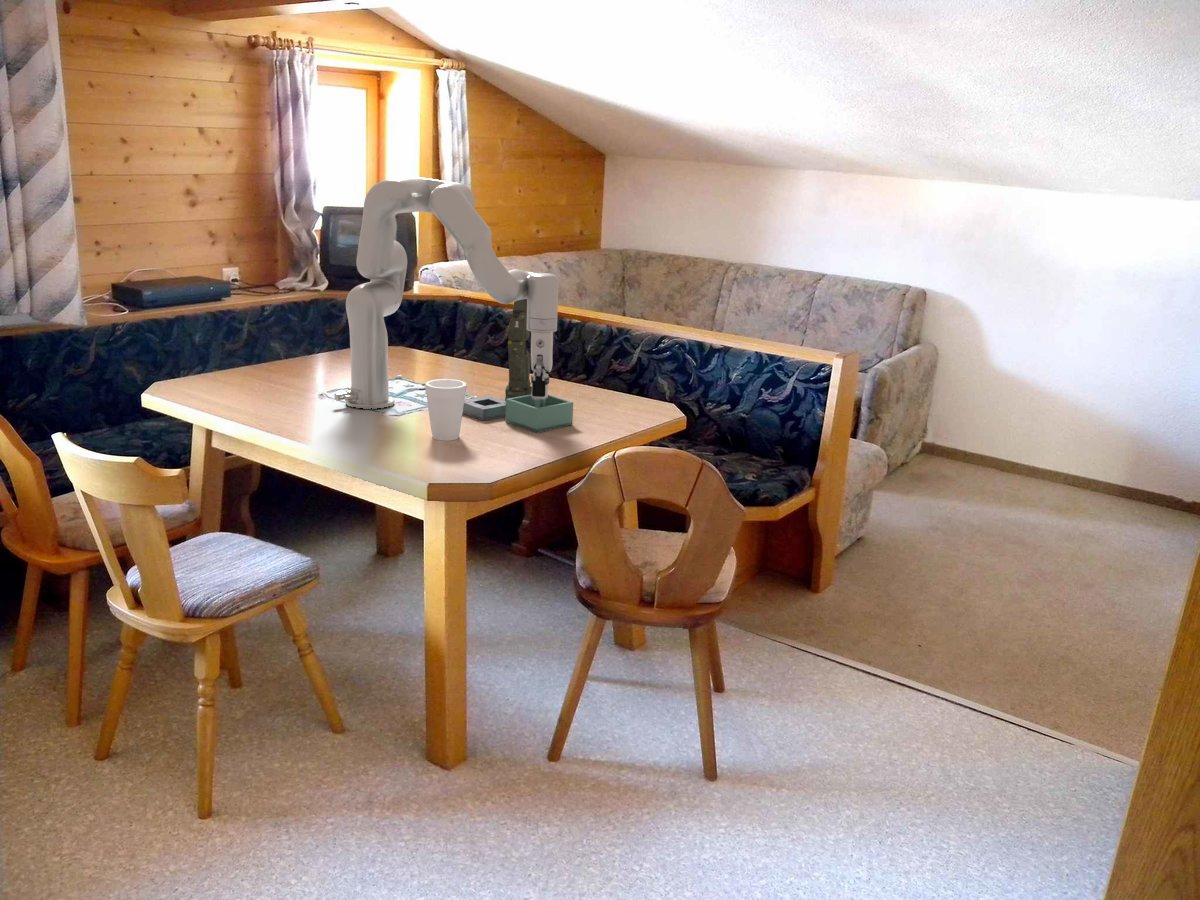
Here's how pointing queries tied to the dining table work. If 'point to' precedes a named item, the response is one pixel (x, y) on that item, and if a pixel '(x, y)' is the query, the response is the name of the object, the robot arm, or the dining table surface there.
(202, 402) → the dining table surface
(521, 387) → the mechanical leg
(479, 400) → the socket block
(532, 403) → the metal peg
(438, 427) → the foam cup
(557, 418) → the bin
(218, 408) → the dining table surface
